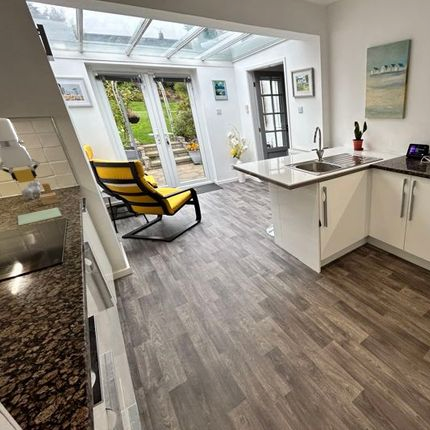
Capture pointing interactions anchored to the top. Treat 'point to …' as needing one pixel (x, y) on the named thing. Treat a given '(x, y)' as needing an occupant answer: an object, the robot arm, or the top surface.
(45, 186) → the supplement box
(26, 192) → the dog figurine
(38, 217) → the mat
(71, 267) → the top surface
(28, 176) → the top cube
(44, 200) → the base block
